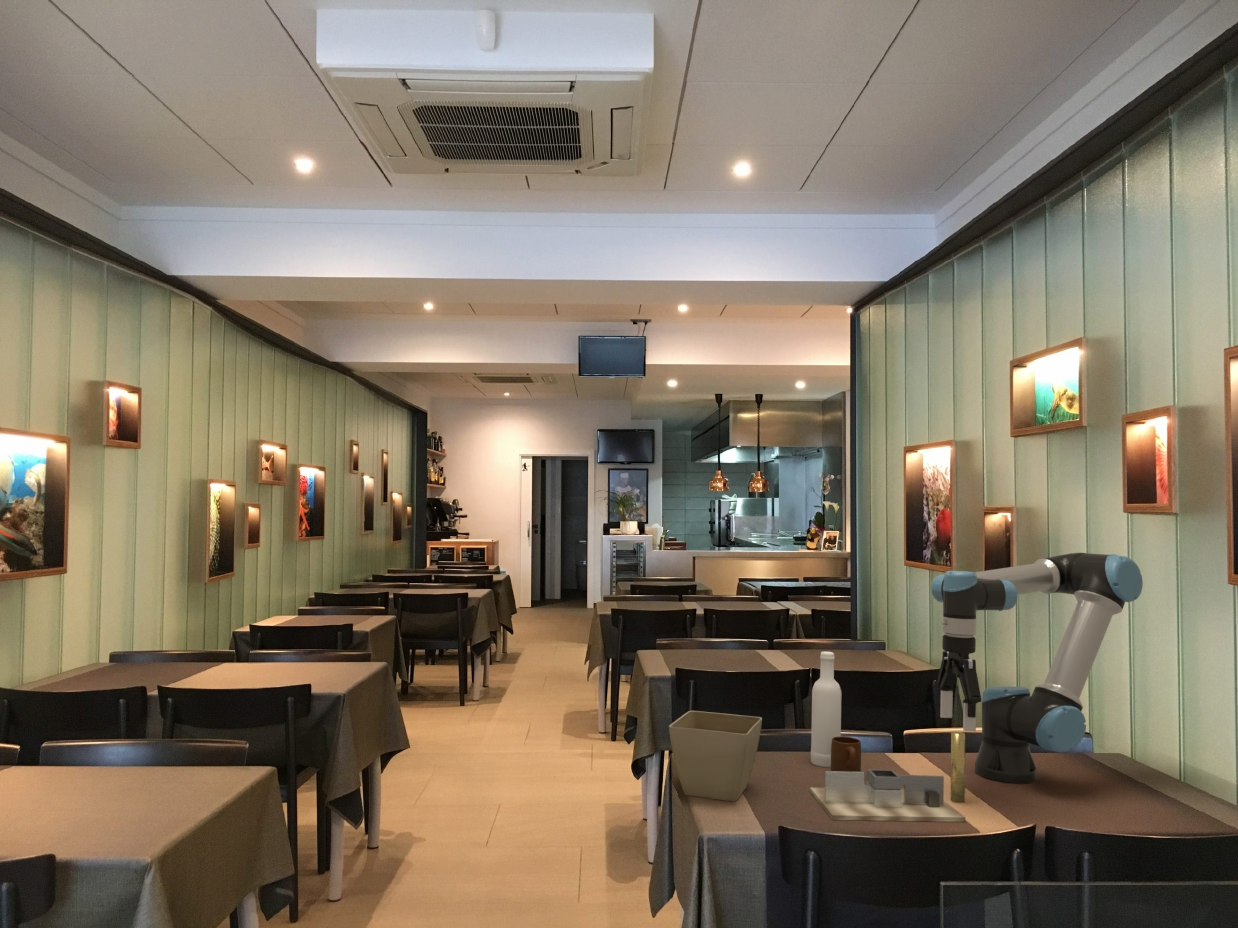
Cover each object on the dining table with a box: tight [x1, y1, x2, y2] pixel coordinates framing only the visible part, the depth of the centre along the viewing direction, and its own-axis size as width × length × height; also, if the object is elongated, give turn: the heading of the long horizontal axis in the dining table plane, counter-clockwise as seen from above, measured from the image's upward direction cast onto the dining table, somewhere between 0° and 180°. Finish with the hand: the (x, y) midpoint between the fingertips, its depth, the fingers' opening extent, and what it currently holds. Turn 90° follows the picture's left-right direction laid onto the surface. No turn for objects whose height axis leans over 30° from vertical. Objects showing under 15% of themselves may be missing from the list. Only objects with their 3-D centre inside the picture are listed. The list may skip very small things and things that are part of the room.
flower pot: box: [668, 710, 763, 802], centre depth 220 cm, size 19×19×17 cm
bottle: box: [810, 651, 842, 768], centre depth 247 cm, size 8×8×30 cm
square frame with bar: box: [866, 768, 945, 804], centre depth 211 cm, size 17×6×6 cm, turn 90°
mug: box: [830, 736, 862, 772], centre depth 233 cm, size 12×8×9 cm, turn 179°
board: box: [809, 787, 967, 823], centre depth 212 cm, size 30×20×1 cm, turn 92°
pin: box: [950, 731, 966, 804], centre depth 218 cm, size 3×3×16 cm
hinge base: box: [824, 770, 940, 808], centre depth 211 cm, size 26×6×7 cm, turn 92°
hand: (957, 724), depth 218 cm, fingers open, 13 cm apart
